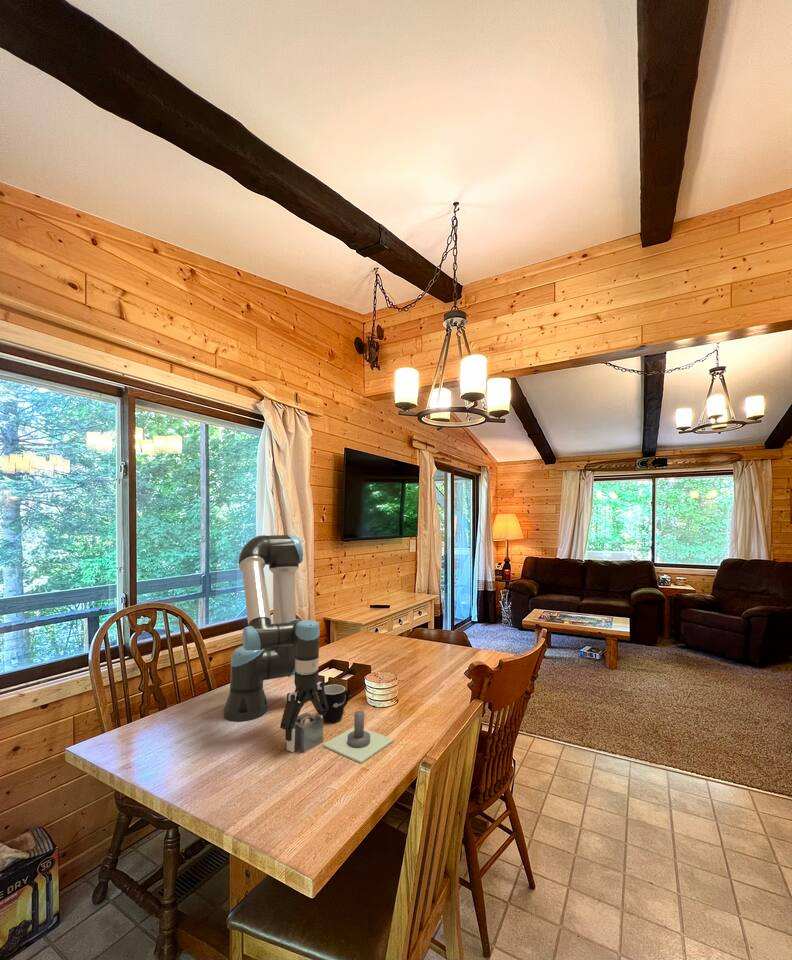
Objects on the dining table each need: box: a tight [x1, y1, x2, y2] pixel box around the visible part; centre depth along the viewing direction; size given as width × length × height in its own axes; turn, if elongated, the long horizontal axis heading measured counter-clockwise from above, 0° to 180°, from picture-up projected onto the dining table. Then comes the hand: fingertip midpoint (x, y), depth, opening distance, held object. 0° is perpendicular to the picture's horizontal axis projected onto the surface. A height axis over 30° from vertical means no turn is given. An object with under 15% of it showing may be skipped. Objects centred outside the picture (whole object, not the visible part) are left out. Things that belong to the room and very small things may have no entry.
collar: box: [286, 711, 324, 753], centre depth 138 cm, size 8×8×7 cm
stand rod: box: [300, 716, 310, 725], centre depth 138 cm, size 3×3×8 cm
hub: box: [322, 710, 395, 765], centre depth 138 cm, size 16×16×9 cm
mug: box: [324, 684, 349, 723], centre depth 156 cm, size 12×9×10 cm
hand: (304, 742), depth 138 cm, fingers open, 11 cm apart
